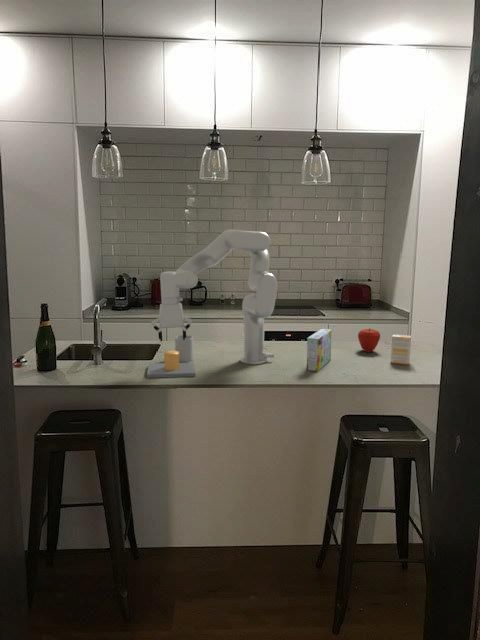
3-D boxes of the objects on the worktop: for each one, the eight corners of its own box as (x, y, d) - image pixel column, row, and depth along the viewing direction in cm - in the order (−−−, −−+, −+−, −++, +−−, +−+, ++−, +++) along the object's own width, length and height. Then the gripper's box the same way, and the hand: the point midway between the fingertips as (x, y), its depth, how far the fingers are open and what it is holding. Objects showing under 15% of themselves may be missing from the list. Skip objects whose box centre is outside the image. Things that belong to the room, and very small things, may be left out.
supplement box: (409, 362, 234) (411, 335, 232) (408, 365, 230) (410, 337, 227) (391, 360, 237) (393, 333, 235) (390, 363, 233) (391, 335, 231)
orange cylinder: (179, 365, 220) (179, 350, 219) (179, 370, 214) (179, 354, 213) (164, 366, 219) (164, 350, 218) (164, 370, 213) (163, 354, 212)
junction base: (194, 365, 226) (193, 351, 225) (195, 376, 210) (195, 361, 209) (149, 366, 224) (148, 352, 222) (147, 377, 208) (146, 362, 207)
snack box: (319, 358, 239) (321, 328, 237) (331, 360, 237) (332, 329, 234) (305, 370, 221) (306, 337, 218) (317, 372, 218) (319, 338, 215)
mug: (192, 362, 231) (192, 339, 229) (174, 362, 231) (174, 339, 229) (194, 355, 243) (194, 333, 241) (177, 355, 243) (176, 333, 241)
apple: (358, 347, 261) (360, 325, 259) (380, 349, 257) (381, 326, 255) (355, 352, 251) (357, 329, 249) (377, 354, 247) (379, 331, 245)
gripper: (190, 298, 216) (192, 336, 219) (150, 300, 214) (152, 339, 217) (191, 301, 208) (193, 341, 212) (149, 303, 206) (151, 343, 210)
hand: (172, 340), depth 215 cm, fingers open, 9 cm apart
